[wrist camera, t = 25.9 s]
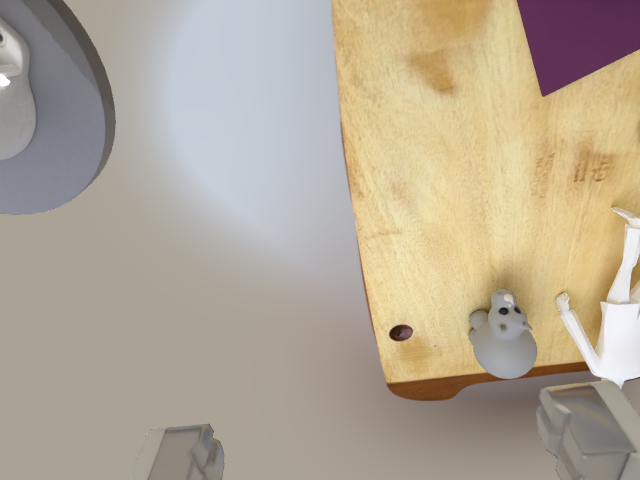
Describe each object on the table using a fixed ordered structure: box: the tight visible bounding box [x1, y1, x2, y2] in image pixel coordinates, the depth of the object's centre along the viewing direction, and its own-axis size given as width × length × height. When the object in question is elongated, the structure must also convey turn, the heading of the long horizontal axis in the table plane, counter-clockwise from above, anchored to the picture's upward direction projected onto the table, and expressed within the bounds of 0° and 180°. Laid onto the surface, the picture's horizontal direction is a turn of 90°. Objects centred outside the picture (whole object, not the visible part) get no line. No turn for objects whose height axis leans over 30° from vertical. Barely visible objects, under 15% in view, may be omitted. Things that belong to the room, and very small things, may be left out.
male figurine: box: [556, 207, 640, 388], centre depth 49 cm, size 14×6×25 cm
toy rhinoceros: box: [469, 289, 537, 379], centre depth 50 cm, size 7×12×8 cm, turn 7°
